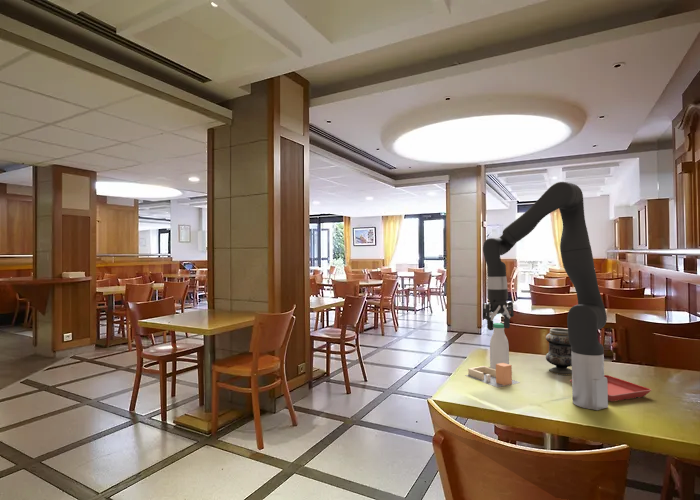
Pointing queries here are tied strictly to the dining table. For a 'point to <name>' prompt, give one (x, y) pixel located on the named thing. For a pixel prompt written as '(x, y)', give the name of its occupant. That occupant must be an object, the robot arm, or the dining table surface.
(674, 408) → the dining table surface
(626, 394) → the plant saucer
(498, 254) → the robot arm
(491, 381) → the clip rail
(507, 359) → the milk bottle
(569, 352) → the carved stone vase
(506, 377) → the orange rectangular block
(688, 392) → the dining table surface
